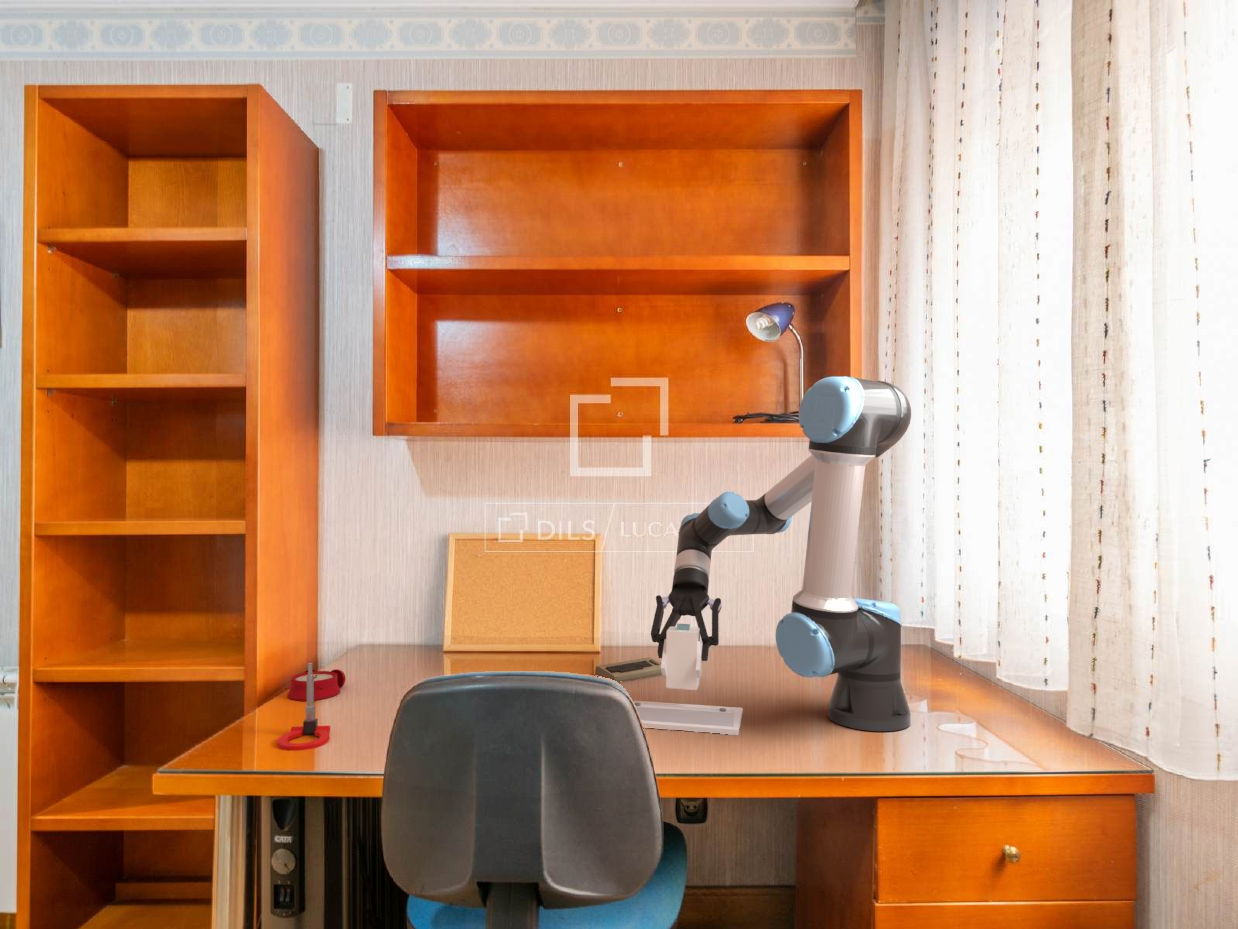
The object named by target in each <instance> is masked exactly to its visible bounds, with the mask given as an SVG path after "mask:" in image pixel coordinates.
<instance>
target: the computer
mask: <svg viewBox="0 0 1238 929" xmlns="http://www.w3.org/2000/svg"><path fill="white" fill-rule="evenodd" d="M594 675H598V676H602V677H605V678H610V679H612V680H615V681H617V682H619V683H621V682H620V681H623V682H622V683H625V682H630V681H634V680H641V679H646V678H652V677H657V676H663V675H662V672H661V662H660V661H659V660H656V659H655V658H652V657H644V658H638V659H632V660H631V659H630V660H625V661H618V662H613V663H608V664H601V665H597V666H595V671H594ZM640 678H641V679H640ZM629 680H630V681H629ZM624 681H625V682H624Z"/></svg>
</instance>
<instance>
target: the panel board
mask: <svg viewBox="0 0 1238 929" xmlns="http://www.w3.org/2000/svg"><path fill="white" fill-rule="evenodd" d="M633 701H634V704H635V705H636V707H637V711H638V712H639V715H640V719H641V721H642V722H643V726H644V729H645V726H647V727H654V728H661V729H678V730H688V731H695V732H694V733H698V732H710V733H709V734H712V733H720V734H719V735H725V734H728V735H729V736H739V733H740V730H741V729H740V728H741V723H742V718H743V711H744V708H743V707H737V706H736V707H735V706H720V705H719V706H718V705H709V704H708V705H706V704H705V705H703V704H689V703H676V702H675V703H673V702H661V701H659V702H658V701H644V700H643V701H642V700H633ZM739 729H740V730H739Z"/></svg>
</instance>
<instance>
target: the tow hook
mask: <svg viewBox="0 0 1238 929" xmlns="http://www.w3.org/2000/svg"><path fill="white" fill-rule="evenodd" d="M312 669H313V663H312V662H308V663H307V670H308V675H307V702H306V705H305V719H304V720H303V722H302V723H303V724H302V726H291V727H290V731H289V732H286V733H285V734H282V735H281V736H279V738H278V739H277V747H278V748H279V749H281V750H284V751H285V750H286V751H305V750H310V749H311V750H312V749H315V748H319V747H321V746H324V745H325V744H327V743H328V742H329V741H330V738H331V734H330V733H331V725H319V724H318V718H316V705H315V700H314V675H313V671H312ZM303 735H304V736H311V735H312V736H313V735H314V736H315V737H318V738H316V739H315V740H311V741H308V742H300V743H297V742H296V743H295V742H289V741H290V740H292V739H296V738H298V737H301V736H303Z"/></svg>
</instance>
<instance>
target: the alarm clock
mask: <svg viewBox="0 0 1238 929" xmlns="http://www.w3.org/2000/svg"><path fill="white" fill-rule="evenodd" d="M312 671H313V675H314V701H315V700H316V701H317V700H324V699H329V698H332V697H335V696H337V695H339V694H340V693H341V688H343V687H344V686H345V683H346V679H347V678H346V675H345V672H344V671H343V670H341V669H338V668H337V669H332V670H330V671H329V670H317V669H313V668H312ZM307 675H308V669H307V670H305V671H304V672H302V673H301V672H300V673H298V674H294V675H293V676H291V679H290V686H289V687H285V690H287V691H288V692H287V698H289V699H291V700H295V701H301V702H305V703H307ZM288 689H289V690H288Z"/></svg>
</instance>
